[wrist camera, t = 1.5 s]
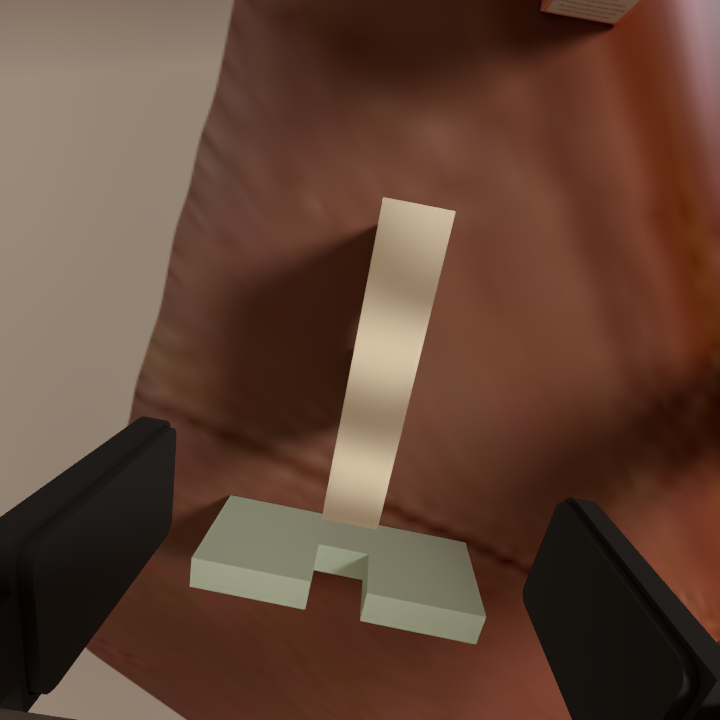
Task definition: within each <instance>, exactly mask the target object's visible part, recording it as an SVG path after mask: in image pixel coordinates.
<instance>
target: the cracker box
mask: <svg viewBox="0 0 720 720" xmlns="http://www.w3.org/2000/svg"><path fill="white" fill-rule="evenodd" d="M645 1H646V0H542V3H541V8H540V11H543V12H546V13H552V14H557V15H563V16H569V17H574V18H579V19H585V20H591V21H596V22H602V23H608V24H612V25H616V26H618V25H620V24H621V23H622V22H623V21H624V20H625V19H626V18H627V17H628V16H630V15H631V14H632V13H633V12H634V11H635V10H636V9H637V8H638V7H639V6H640V5H641V4H642V3H644V2H645Z"/></svg>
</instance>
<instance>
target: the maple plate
mask: <svg viewBox="0 0 720 720" xmlns="http://www.w3.org/2000/svg"><path fill="white" fill-rule="evenodd" d="M455 212H456V211H451V210H446V209H441V208H436V207H431V206H426V205H421V204H416V203H410V202H405V201H400V200H395V199H390V198H385V197H383V202H382V207H381V212H380V217H379V222H378V228H377V233H376V238H375V243H374V249H373V254H372V259H371V264H370V269H369V275H368V280H367V285H366V290H365V296H364V301H363V306H362V311H361V316H360V322H359V327H358V332H357V337H356V342H355V348H354V353H353V358H352V363H351V369H350V374H349V379H348V384H347V389H346V395H345V400H344V405H343V410H342V416H341V421H340V426H339V431H338V436H337V442H336V447H335V452H334V457H333V462H332V468H331V473H330V478H329V483H328V489H327V494H326V499H325V504H324V509H323V515H322V519H326V520H331V521H336V522H340V523H345V524H350V525H355V526H360V527H365V528H370V529H375V530H377V529H378V525H379V521H380V517H381V513H382V509H383V505H384V501H385V497H386V493H387V489H388V484H389V480H390V476H391V472H392V468H393V464H394V460H395V456H396V452H397V448H398V444H399V440H400V436H401V432H402V428H403V424H404V419H405V415H406V411H407V407H408V403H409V399H410V395H411V391H412V387H413V383H414V379H415V375H416V371H417V367H418V363H419V359H420V354H421V350H422V346H423V342H424V338H425V334H426V330H427V326H428V322H429V318H430V314H431V310H432V306H433V302H434V298H435V294H436V289H437V285H438V281H439V277H440V273H441V269H442V265H443V261H444V257H445V253H446V249H447V245H448V241H449V237H450V233H451V229H452V224H453V220H454V216H455Z"/></svg>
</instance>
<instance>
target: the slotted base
mask: <svg viewBox="0 0 720 720" xmlns="http://www.w3.org/2000/svg"><path fill="white" fill-rule="evenodd" d="M322 515H323V514H322V513H317V512H312V511H307V510H302V509H297V508H292V507H287V506H282V505H277V504H272V503H267V502H262V501H257V500H252V499H247V498H242V497H237V496H232V495H230V497H229V499H228V500H227V502H226V503H225V505H224V507H223V508H222V510H221V511H220V513H219V515H218V516H217V518H216V519H215V521H214V523H213V524H212V526H211V527H210V529H209V531H208V532H207V534H206V536H205V537H204V539H203V540H202V542H201V544H200V545H199V547H198V548H197V550H196V552H195V553H194V555H193V556H192V560H191V574H190V587H195V588H200V589H205V590H210V591H215V592H220V593H225V594H230V595H235V596H240V597H245V598H249V599H254V600H259V601H264V602H269V603H274V604H279V605H284V606H289V607H294V608H299V609H304V610H305V608H306V603H307V599H308V594H309V590H310V585H311V580H312V576H313V571H314V570H316V571H321V572H326V573H331V574H336V575H340V576H345V577H350V578H355V579H360V580H363V582H362V597H361V613H360V621H363V622H368V623H373V624H378V625H383V626H387V627H392V628H397V629H402V630H407V631H412V632H417V633H422V634H427V635H432V636H437V637H442V638H447V639H452V640H456V641H461V642H466V643H471V644H476V643H477V640H478V638H479V635H480V633H481V630H482V627H483V625H484V622H485V619H486V614H485V611H484V607H483V604H482V600H481V596H480V593H479V589H478V586H477V582H476V578H475V575H474V571H473V568H472V564H471V561H470V557H469V553H468V550H467V546H466V543H465V542H461V541H456V540H451V539H446V538H441V537H436V536H431V535H426V534H421V533H416V532H411V531H406V530H401V529H396V528H391V527H386V526H381V525H378V529H377V530H375V529H370V528H365V527H360V526H355V525H350V524H345V523H340V522H336V521H331V520H326V519H322Z"/></svg>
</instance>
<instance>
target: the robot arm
mask: <svg viewBox="0 0 720 720" xmlns="http://www.w3.org/2000/svg"><path fill="white" fill-rule="evenodd" d="M175 451H176V430H175V429H174V428H170V423H169V422H168V421H165V420H160V419H154V418H149V417H141V418H139V419H137V420H136V421H134V422H133V423H132V424H130V425H129V426H127V427H126V428H125V429H123V430H122V431H120V432H119V433H118V434H116V435H115V436H113V437H112V438H111V439H109V440H108V441H106V442H105V443H104V444H102V445H101V446H99V447H98V448H97V449H95V450H94V451H92V452H91V453H90V454H88V455H87V456H85V457H84V458H83V459H81V460H80V461H78V462H77V463H76V464H74V465H73V466H71V467H70V468H69V469H67V470H66V471H64V472H63V473H62V474H60V475H59V476H57V477H56V478H55V479H53V480H52V481H50V482H49V483H47V484H46V485H45V486H43V487H42V488H40V489H39V490H38V491H36V492H35V493H33V494H32V495H31V496H29V497H28V498H26V499H25V500H24V501H22V502H21V503H19V504H18V505H17V506H15V507H14V508H13V509H11V510H10V511H8V512H7V513H5V514H4V515H3V516H1V517H0V720H75V719H68V718H61V717H55V716H48V715H42V714H35V713H29V712H28V711H29V709H30V708H31V707H32V705H33V704H34V703H35V701H36V700H37V699H38V698H39V696H40V695H41V694H48V693H50V692H51V691H52V690H53V689H54V688H55V687H56V686H57V685H58V684H59V682H60V681H61V680H62V678H63V677H64V675H65V674H66V673H67V671H68V670H69V669H70V667H71V666H72V665H73V663H74V662H75V660H76V659H77V658H78V656H79V655H80V653H81V652H82V651H83V650H84V648H85V647H86V645H87V644H88V643H89V641H90V640H91V639H92V637H93V636H94V634H95V633H96V632H97V630H98V629H99V628H100V626H101V625H102V624H103V622H104V621H105V619H106V618H107V617H108V615H109V614H110V613H111V611H112V610H113V609H114V607H115V606H116V604H117V603H118V602H119V600H120V599H121V598H122V596H123V595H124V594H125V592H126V591H127V589H128V588H129V587H130V585H131V584H132V583H133V581H134V580H135V578H136V577H137V576H138V574H139V573H140V572H141V570H142V569H143V568H144V566H145V565H146V563H147V562H148V561H149V559H150V558H151V557H152V555H153V554H154V553H155V551H156V550H157V548H158V547H159V546H160V544H161V543H162V542H163V540H164V539H165V537H166V536H167V534H168V532H169V529H170V526H171V522H172V507H173V489H174V470H175ZM523 601H524V604H525V607H526V609H527V612H528V614H529V617H530V619H531V622H532V624H533V626H534V629H535V631H536V634H537V636H538V638H539V641H540V643H541V646H542V648H543V650H544V653H545V655H546V658H547V660H548V663H549V665H550V667H551V670H552V672H553V675H554V677H555V679H556V682H557V684H558V687H559V689H560V691H561V694H562V696H563V699H564V701H565V704H566V706H567V708H568V711H569V713H570V716H571V718H572V720H720V646H719V645H718V644H717V643H716V641H715V640H714V639H713V638H712V637H711V636H710V635H709V633H708V632H707V631H706V630H705V629H704V628H703V626H702V625H701V624H700V623H699V622H698V621H697V619H696V618H695V617H694V616H693V615H692V614H691V612H690V611H689V610H688V609H687V608H686V607H685V606H684V604H683V603H682V602H681V601H680V600H679V599H678V597H677V596H676V595H675V594H674V593H673V592H672V590H671V589H670V588H669V587H668V586H667V585H666V583H665V582H664V581H663V580H662V579H661V578H660V577H659V575H658V574H657V573H656V572H655V571H654V570H653V568H652V567H651V566H650V565H649V564H648V563H647V561H646V560H645V559H644V558H643V557H642V556H641V554H640V553H639V552H638V551H637V550H636V549H635V548H634V546H633V545H632V544H631V543H630V542H629V541H628V539H627V538H626V537H625V536H624V535H623V534H622V532H621V531H620V530H619V529H618V528H617V527H616V525H615V524H614V523H613V522H612V521H611V520H610V519H609V517H608V516H607V515H606V514H605V513H604V512H603V510H602V509H601V508H600V507H599V506H598V505H597V504H596V503H593V502H589V501H584V500H579V499H573V498H568V499H566V500H565V501H564V502H563V503H559V504H558V505H557V506H556V508H555V511H554V513H553V516H552V518H551V521H550V523H549V526H548V528H547V531H546V533H545V536H544V538H543V540H542V543H541V545H540V548H539V550H538V553H537V555H536V558H535V560H534V563H533V565H532V568H531V570H530V573H529V575H528V578H527V580H526V583H525V585H524V588H523Z"/></svg>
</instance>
